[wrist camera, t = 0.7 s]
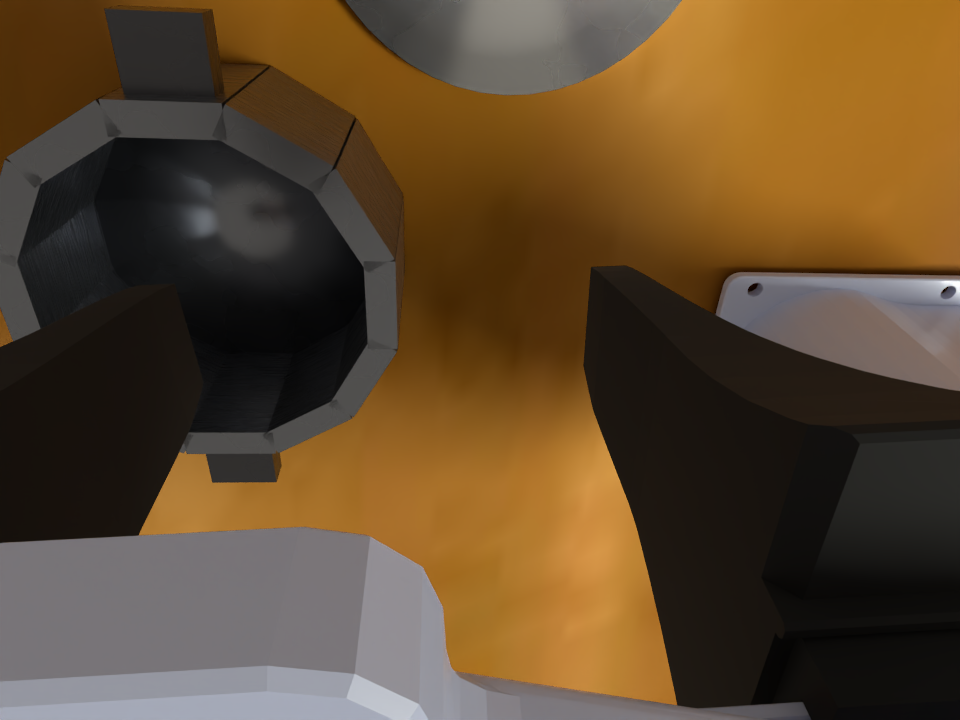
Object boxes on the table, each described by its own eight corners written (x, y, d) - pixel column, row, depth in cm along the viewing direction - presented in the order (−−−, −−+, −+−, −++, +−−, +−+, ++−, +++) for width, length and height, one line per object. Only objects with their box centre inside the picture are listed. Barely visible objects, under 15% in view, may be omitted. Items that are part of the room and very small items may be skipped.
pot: (399, 3, 18) (389, 24, 14) (407, 401, 25) (401, 494, 21) (16, -14, 18) (-118, 2, 13) (134, 400, 25) (72, 496, 20)
